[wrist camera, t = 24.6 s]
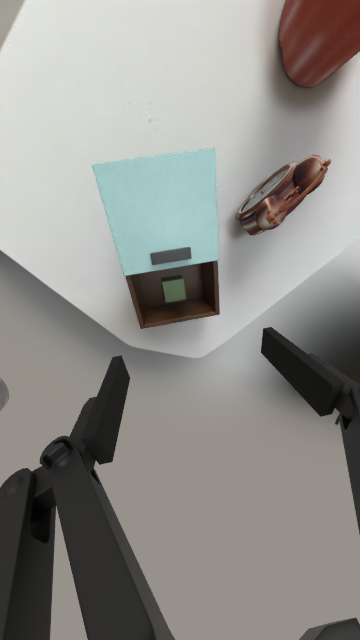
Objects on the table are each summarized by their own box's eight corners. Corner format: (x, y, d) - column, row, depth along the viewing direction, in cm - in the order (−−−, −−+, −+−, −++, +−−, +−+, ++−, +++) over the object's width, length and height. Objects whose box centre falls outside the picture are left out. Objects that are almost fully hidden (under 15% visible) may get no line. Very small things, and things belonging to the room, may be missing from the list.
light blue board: (124, 275, 27) (121, 279, 24) (93, 166, 21) (83, 154, 18) (217, 259, 28) (224, 261, 25) (213, 149, 22) (221, 136, 19)
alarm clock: (266, 175, 32) (345, 125, 18) (278, 196, 34) (359, 165, 20) (225, 221, 34) (267, 208, 21) (238, 239, 36) (285, 236, 23)
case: (144, 310, 41) (140, 329, 32) (129, 250, 35) (118, 253, 26) (206, 299, 41) (219, 314, 32) (202, 238, 35) (216, 237, 26)
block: (165, 296, 39) (165, 302, 35) (161, 277, 37) (161, 282, 33) (183, 293, 39) (186, 299, 35) (180, 274, 37) (183, 278, 33)
